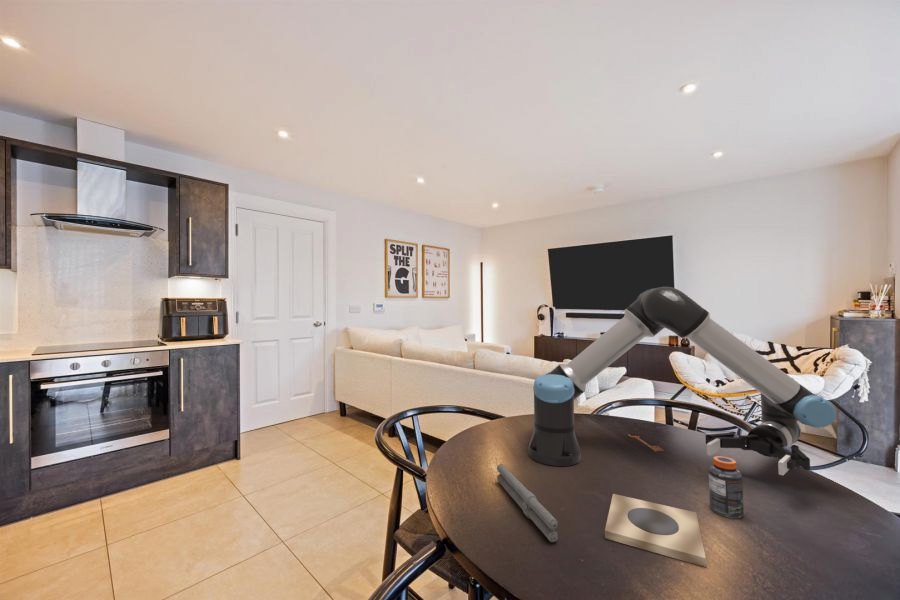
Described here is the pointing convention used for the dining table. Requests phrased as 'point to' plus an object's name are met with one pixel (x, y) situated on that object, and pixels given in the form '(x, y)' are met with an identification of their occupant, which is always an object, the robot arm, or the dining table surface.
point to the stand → (655, 529)
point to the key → (655, 448)
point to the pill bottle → (726, 488)
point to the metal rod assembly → (528, 503)
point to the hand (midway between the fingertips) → (742, 458)
